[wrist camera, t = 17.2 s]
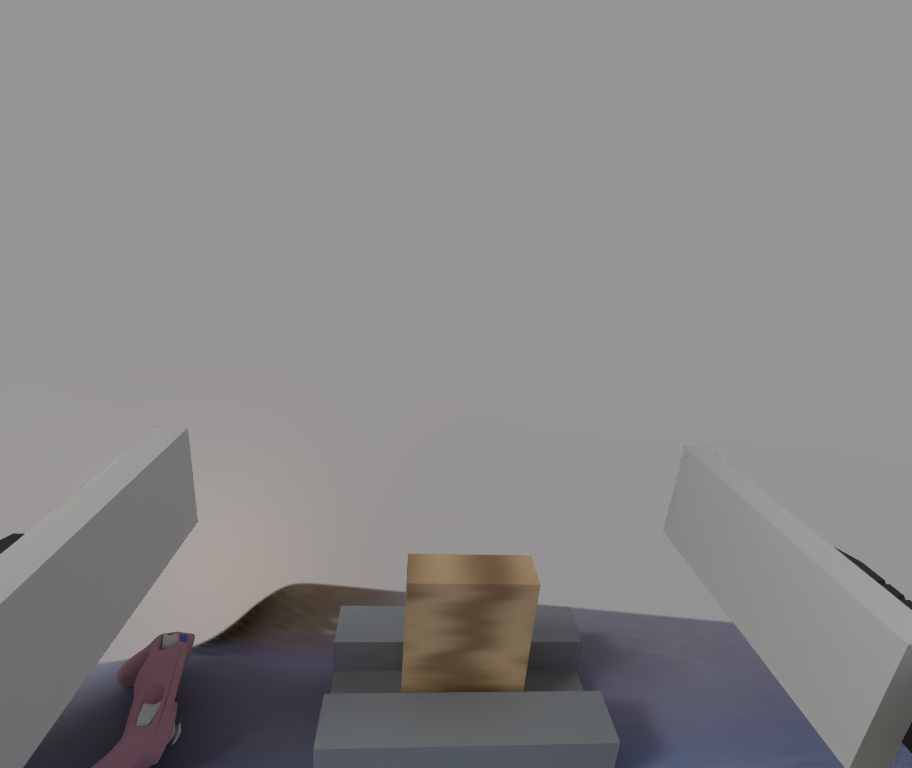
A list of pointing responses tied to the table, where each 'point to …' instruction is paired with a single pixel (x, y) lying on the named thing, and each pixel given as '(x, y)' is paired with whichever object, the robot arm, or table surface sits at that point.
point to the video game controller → (151, 701)
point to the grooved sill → (459, 706)
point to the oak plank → (468, 622)
